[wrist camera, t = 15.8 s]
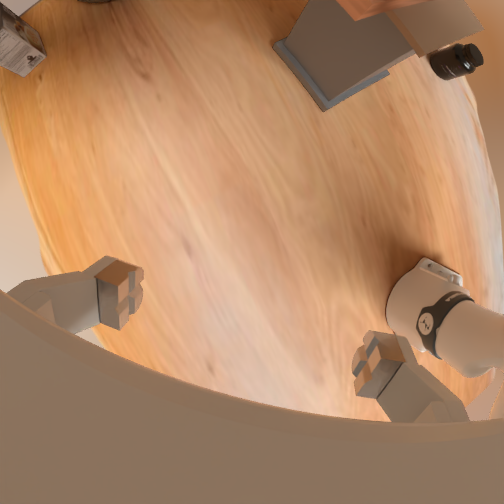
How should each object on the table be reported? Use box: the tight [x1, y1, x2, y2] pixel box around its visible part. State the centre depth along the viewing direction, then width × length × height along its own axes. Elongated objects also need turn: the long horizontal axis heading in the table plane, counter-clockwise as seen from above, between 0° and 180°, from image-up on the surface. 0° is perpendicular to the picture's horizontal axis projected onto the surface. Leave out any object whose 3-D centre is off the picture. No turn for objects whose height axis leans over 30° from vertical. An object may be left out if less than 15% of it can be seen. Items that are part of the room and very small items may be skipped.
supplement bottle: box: [431, 43, 483, 80], centre depth 36 cm, size 7×7×12 cm
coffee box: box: [0, 2, 47, 77], centre depth 23 cm, size 9×6×16 cm
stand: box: [273, 0, 484, 112], centre depth 27 cm, size 16×14×26 cm
